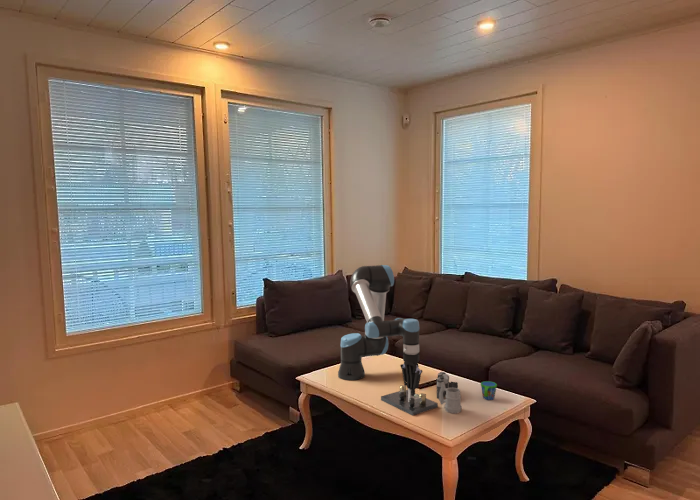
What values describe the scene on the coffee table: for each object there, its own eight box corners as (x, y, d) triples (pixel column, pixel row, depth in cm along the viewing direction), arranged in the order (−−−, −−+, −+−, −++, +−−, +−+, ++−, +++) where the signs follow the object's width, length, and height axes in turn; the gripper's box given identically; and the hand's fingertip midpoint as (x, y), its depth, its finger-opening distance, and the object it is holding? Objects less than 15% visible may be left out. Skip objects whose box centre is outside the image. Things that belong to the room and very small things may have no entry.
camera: (456, 400, 245) (456, 380, 244) (435, 398, 248) (435, 379, 247) (458, 389, 260) (458, 370, 259) (438, 388, 263) (438, 369, 262)
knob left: (398, 400, 241) (398, 391, 240) (400, 392, 250) (400, 385, 250) (404, 400, 240) (404, 392, 240) (406, 393, 249) (406, 385, 249)
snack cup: (485, 393, 254) (485, 378, 254) (500, 396, 250) (500, 381, 249) (476, 400, 245) (476, 385, 244) (492, 403, 240) (492, 388, 240)
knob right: (407, 405, 233) (407, 397, 233) (422, 401, 239) (422, 392, 239) (412, 407, 231) (412, 399, 230) (427, 403, 236) (427, 394, 236)
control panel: (381, 400, 247) (380, 392, 246) (405, 393, 256) (405, 385, 255) (412, 415, 228) (412, 407, 228) (437, 407, 237) (437, 399, 237)
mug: (455, 415, 228) (455, 389, 227) (434, 408, 236) (434, 383, 235) (464, 410, 233) (465, 385, 232) (444, 403, 241) (444, 379, 240)
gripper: (395, 350, 236) (396, 399, 238) (414, 357, 225) (414, 408, 227) (407, 348, 240) (408, 395, 242) (426, 354, 230) (426, 404, 232)
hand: (411, 401), depth 235 cm, fingers closed
